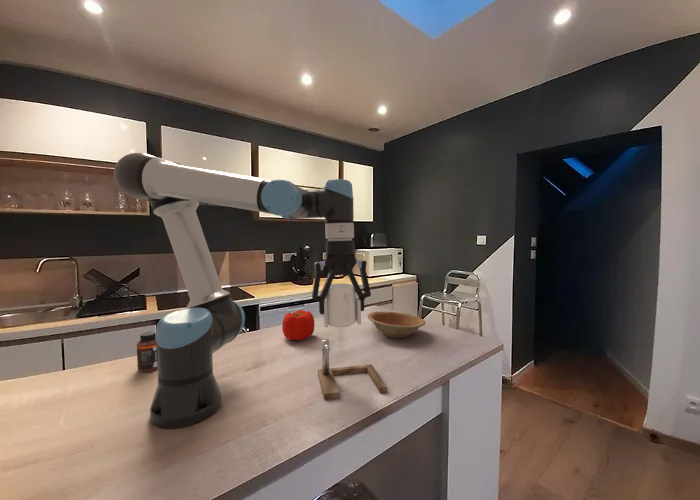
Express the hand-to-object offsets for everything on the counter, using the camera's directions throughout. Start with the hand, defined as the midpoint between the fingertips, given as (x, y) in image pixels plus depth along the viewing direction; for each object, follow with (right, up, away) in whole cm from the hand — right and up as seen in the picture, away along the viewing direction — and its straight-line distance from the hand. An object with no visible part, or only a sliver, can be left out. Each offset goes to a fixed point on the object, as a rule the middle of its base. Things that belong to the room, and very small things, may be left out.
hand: (342, 324), depth 82 cm
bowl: (+21, -16, +46) cm, 53 cm away
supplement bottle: (-61, -18, +14) cm, 65 cm away
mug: (0, 0, 0) cm, 0 cm away
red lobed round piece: (-19, -16, +42) cm, 48 cm away
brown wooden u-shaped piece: (+2, -18, +5) cm, 19 cm away
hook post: (-5, -16, +6) cm, 18 cm away
